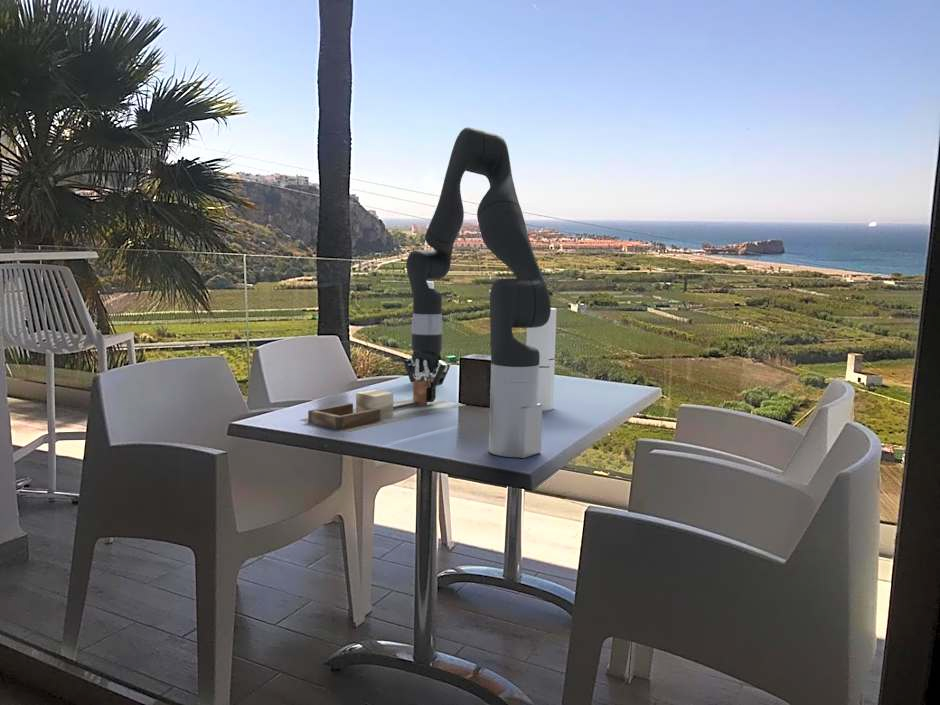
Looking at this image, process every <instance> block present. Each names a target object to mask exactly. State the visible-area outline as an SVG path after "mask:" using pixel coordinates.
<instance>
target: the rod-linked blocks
mask: <svg viewBox="0 0 940 705" xmlns="http://www.w3.org/2000/svg"><path fill="white" fill-rule="evenodd" d="M412 384H413V389H412V392H413V393H412V395H413V397H412V398H413V402H412V403H407V404H402V405H397V406H393V401H394V392H389V391H385V390H378V389H371V390H367V391H360V392H355V393H356V394H355V409H356V412H361V411H366V410H371V409H376V408H377V409H380V417H383V416H388V415H392V414H393V410H394V409H398V408H403V407H408V406H413V405H417V406H424V405H427V381H426V380H415V381H413V382H412Z"/></svg>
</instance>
